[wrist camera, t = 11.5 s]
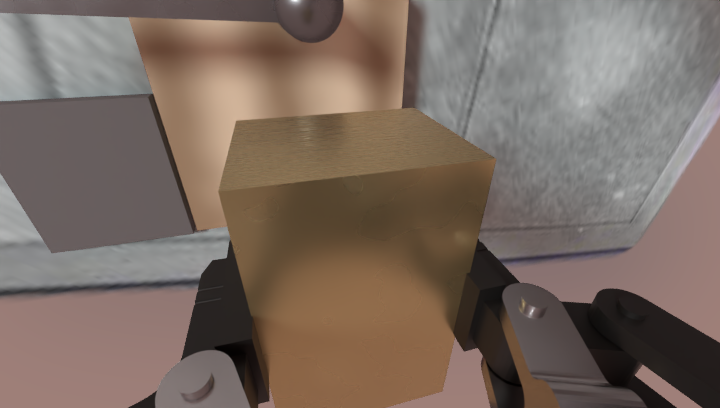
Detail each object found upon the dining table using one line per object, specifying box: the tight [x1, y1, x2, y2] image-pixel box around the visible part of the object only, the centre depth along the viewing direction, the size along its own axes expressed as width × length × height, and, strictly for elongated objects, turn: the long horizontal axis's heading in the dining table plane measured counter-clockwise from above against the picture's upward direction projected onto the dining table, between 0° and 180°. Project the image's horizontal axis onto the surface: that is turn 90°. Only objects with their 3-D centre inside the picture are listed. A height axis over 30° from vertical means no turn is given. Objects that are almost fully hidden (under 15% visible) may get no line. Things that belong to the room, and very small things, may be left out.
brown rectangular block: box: [218, 108, 496, 408], centre depth 9 cm, size 5×8×4 cm, turn 0°
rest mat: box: [0, 94, 195, 253], centre depth 23 cm, size 10×11×1 cm
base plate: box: [129, 0, 409, 230], centre depth 23 cm, size 16×16×3 cm
